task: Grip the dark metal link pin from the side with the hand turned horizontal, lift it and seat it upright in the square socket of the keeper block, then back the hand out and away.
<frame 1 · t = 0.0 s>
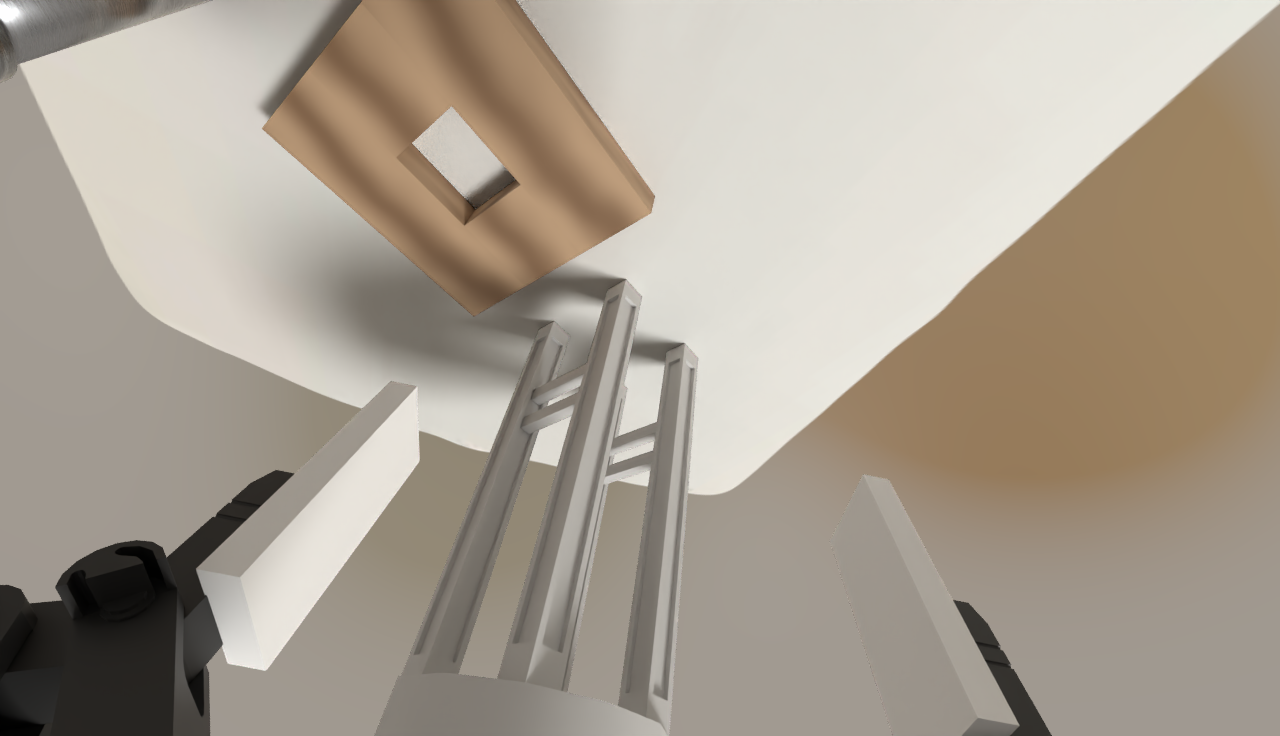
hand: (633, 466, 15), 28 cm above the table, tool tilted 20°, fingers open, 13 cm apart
keeper block: (470, 156, 39), on the table
stool: (618, 342, 51), on the table
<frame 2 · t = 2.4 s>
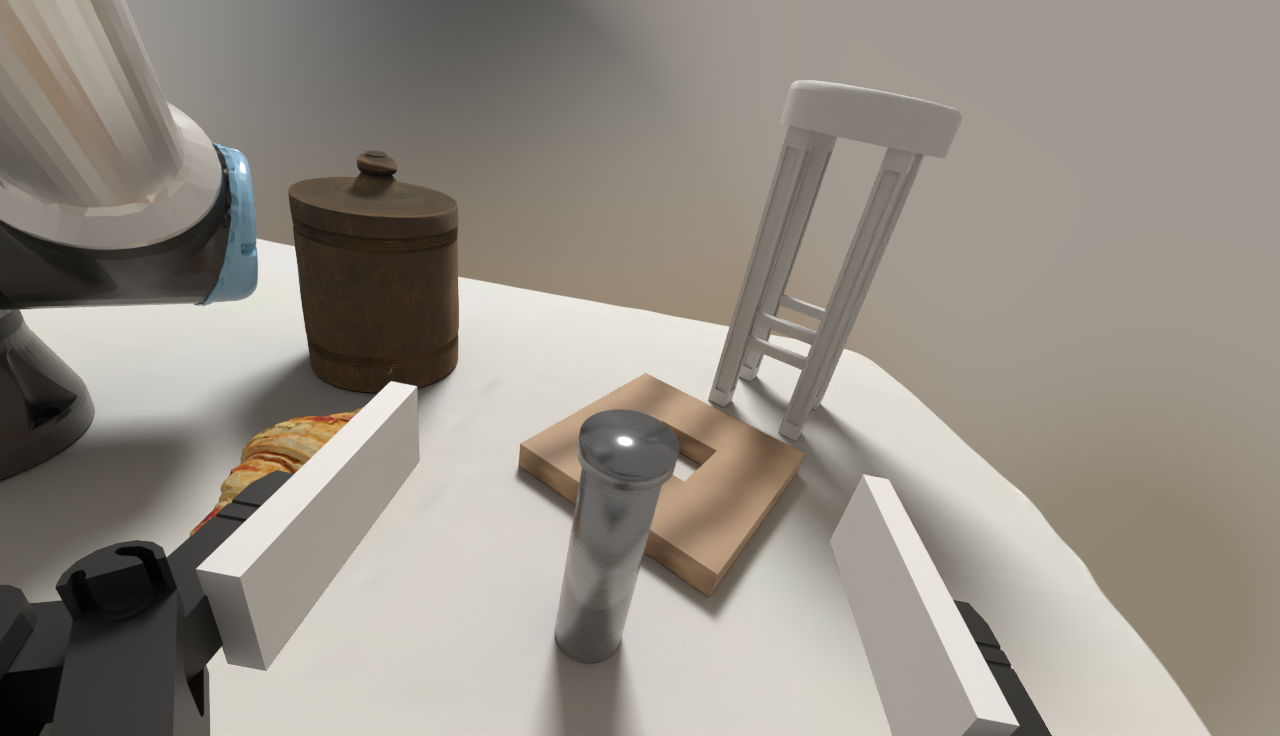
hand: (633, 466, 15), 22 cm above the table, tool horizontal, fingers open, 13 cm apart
keeper block: (667, 469, 50), on the table
croissant: (310, 503, 39), on the table
stool: (765, 403, 65), on the table
wooden container: (388, 360, 58), on the table
link pin: (588, 630, 34), on the table
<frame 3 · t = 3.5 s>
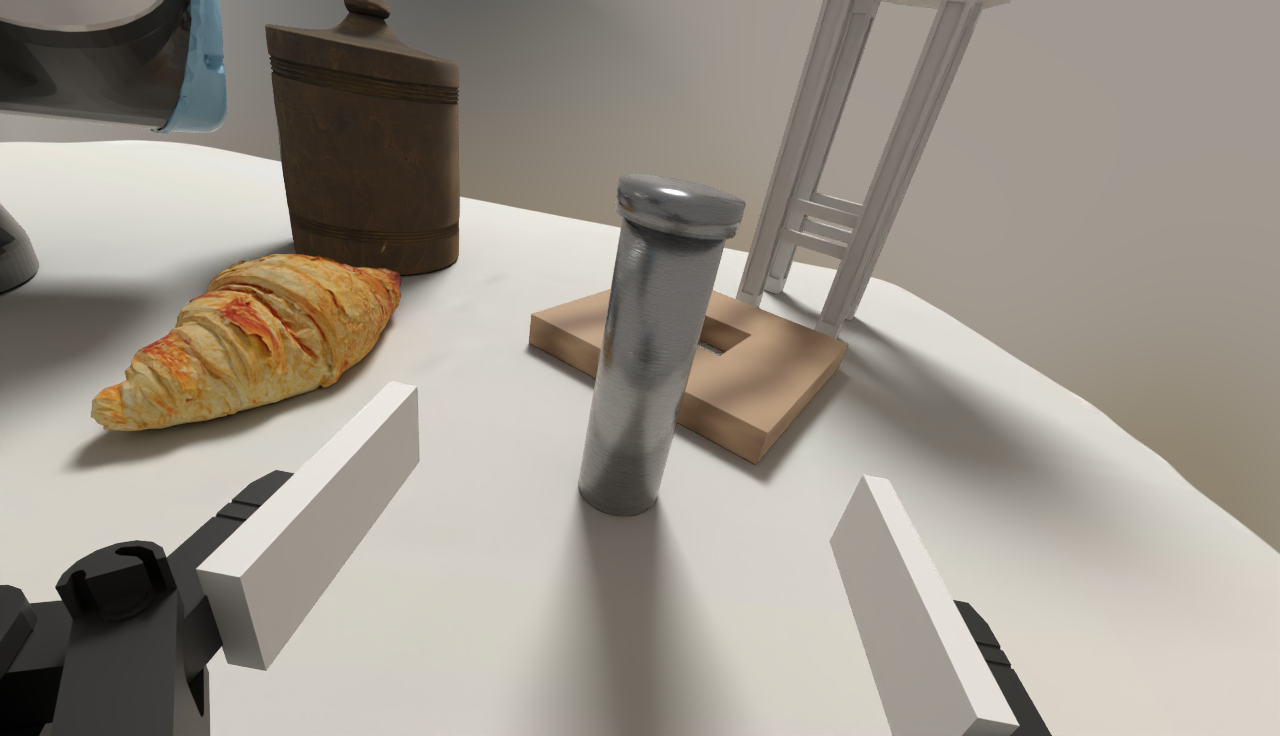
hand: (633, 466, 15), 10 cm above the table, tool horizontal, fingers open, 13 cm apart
keeper block: (695, 356, 44), on the table
croissant: (288, 360, 34), on the table
stool: (795, 312, 60), on the table
wooden container: (381, 252, 52), on the table
link pin: (618, 486, 28), on the table
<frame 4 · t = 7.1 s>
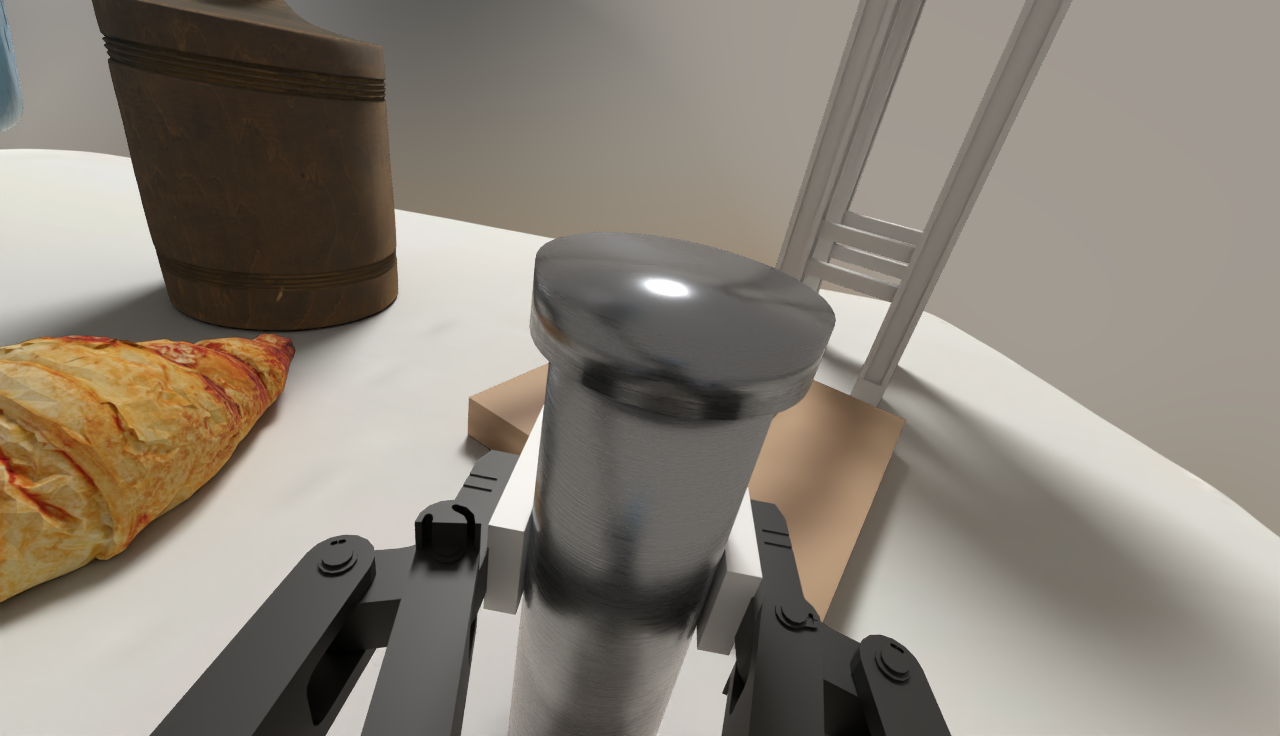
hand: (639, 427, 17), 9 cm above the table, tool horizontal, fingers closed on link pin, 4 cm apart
keeper block: (701, 442, 33), on the table
croissant: (78, 497, 22), on the table
stool: (824, 360, 48), on the table
wooden container: (294, 293, 41), on the table
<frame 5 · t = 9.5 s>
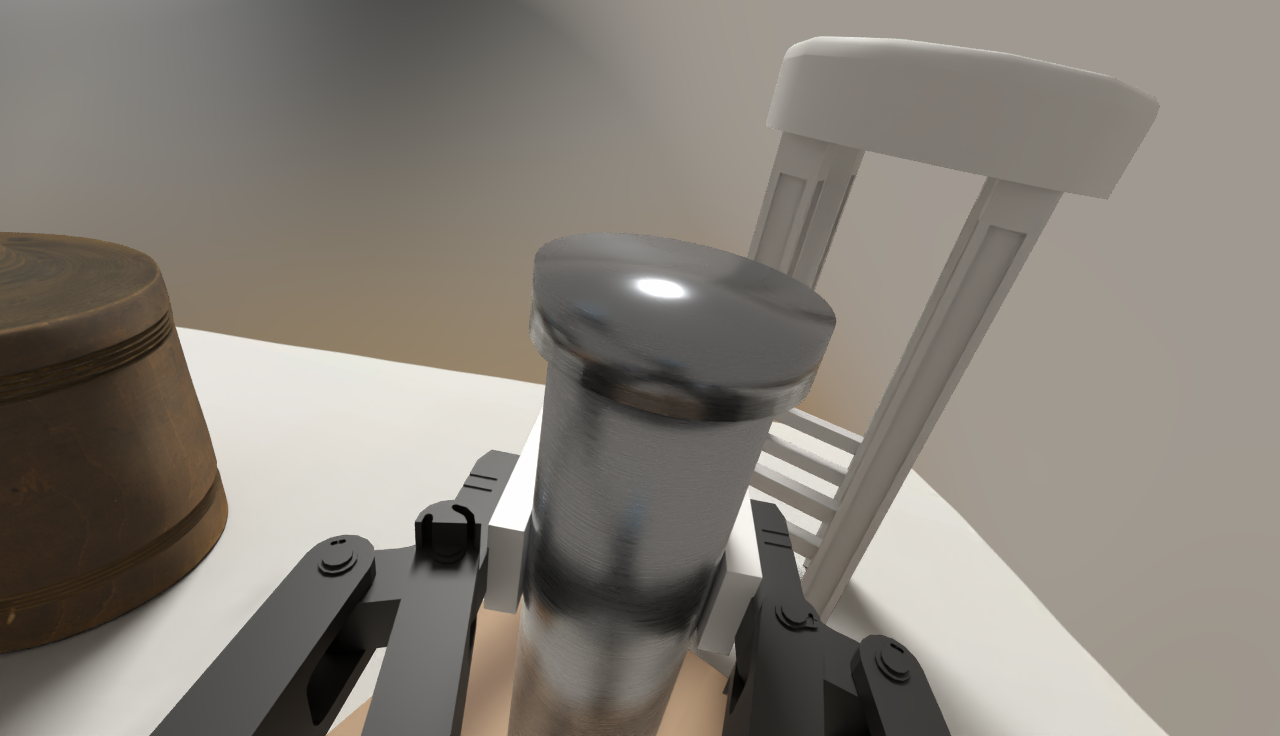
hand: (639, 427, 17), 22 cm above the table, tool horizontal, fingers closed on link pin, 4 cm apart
stool: (749, 571, 41), on the table
wooden container: (82, 548, 33), on the table
when the fingers open (10 cm above the table, at t = 13.0 s): link pin stays where it is, resting in keeper block.
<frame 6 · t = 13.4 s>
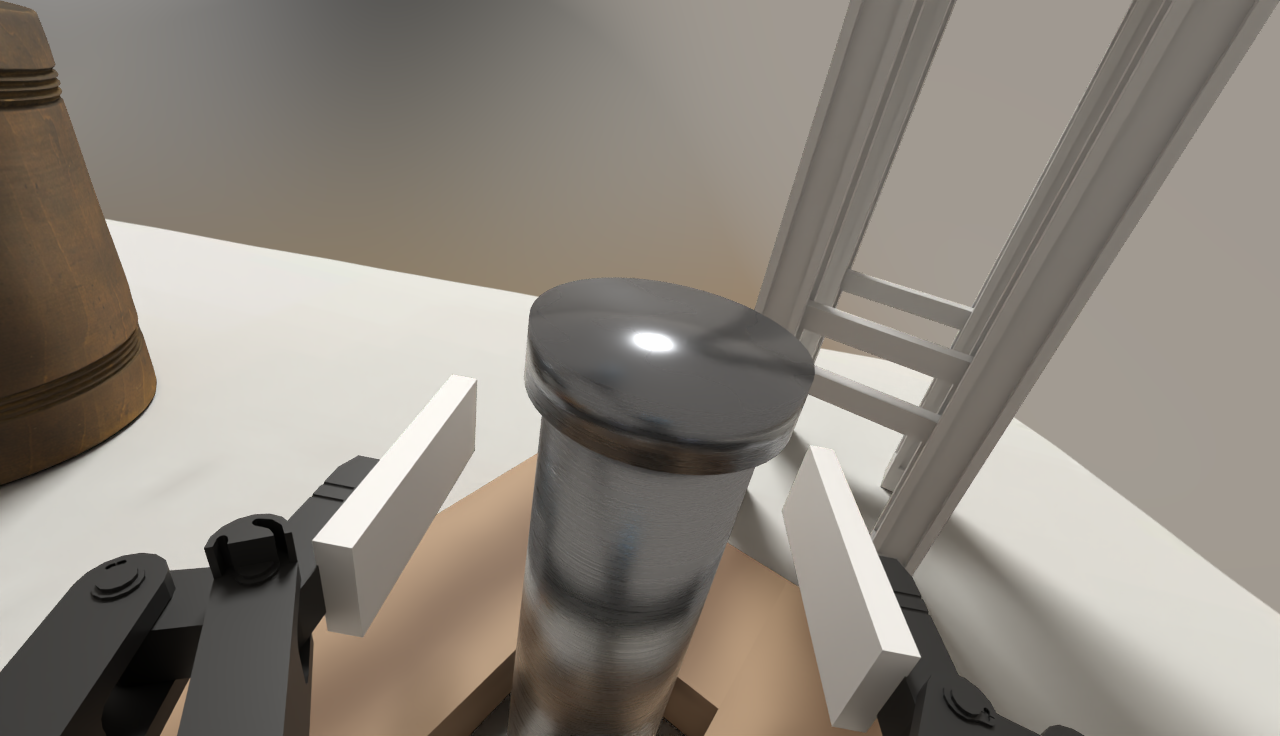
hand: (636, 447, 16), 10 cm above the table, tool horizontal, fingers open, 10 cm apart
stool: (815, 489, 32), on the table
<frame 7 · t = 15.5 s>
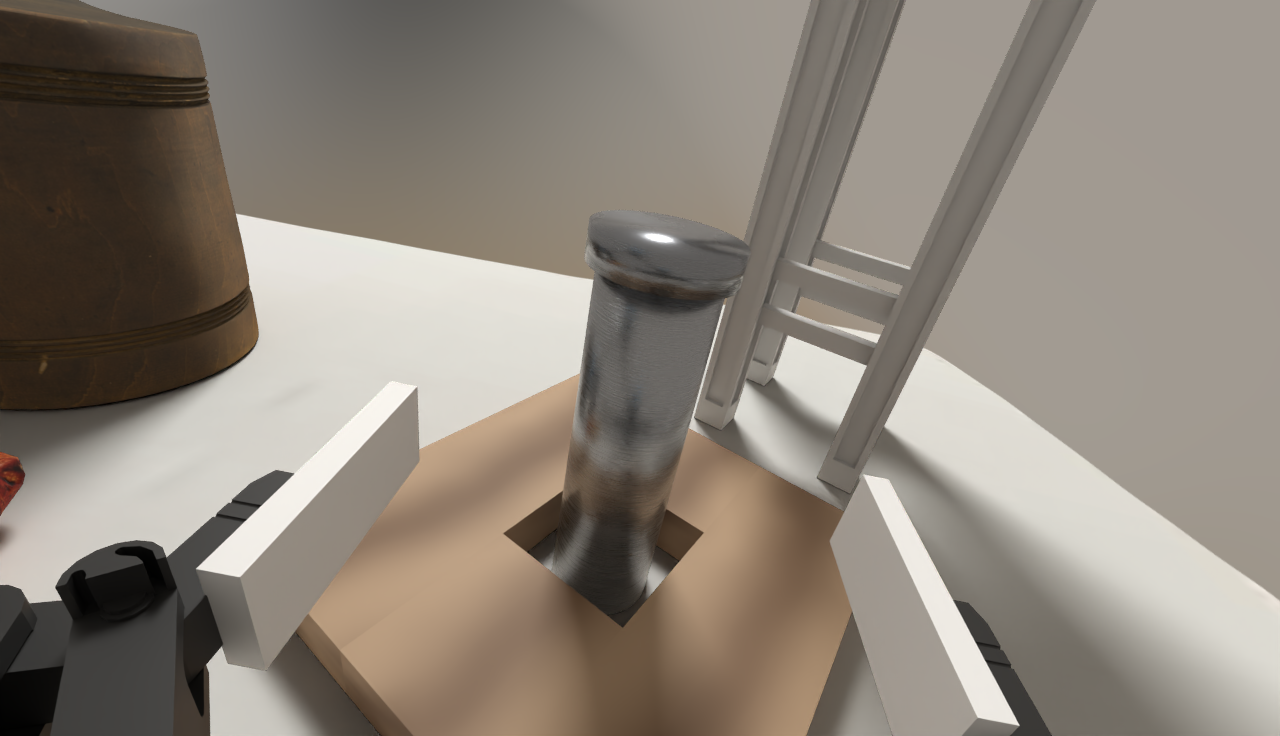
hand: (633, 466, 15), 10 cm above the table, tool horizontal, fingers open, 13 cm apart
keeper block: (600, 571, 24), on the table
stool: (790, 421, 39), on the table
wooden container: (114, 348, 32), on the table
link pin: (599, 572, 24), resting in keeper block
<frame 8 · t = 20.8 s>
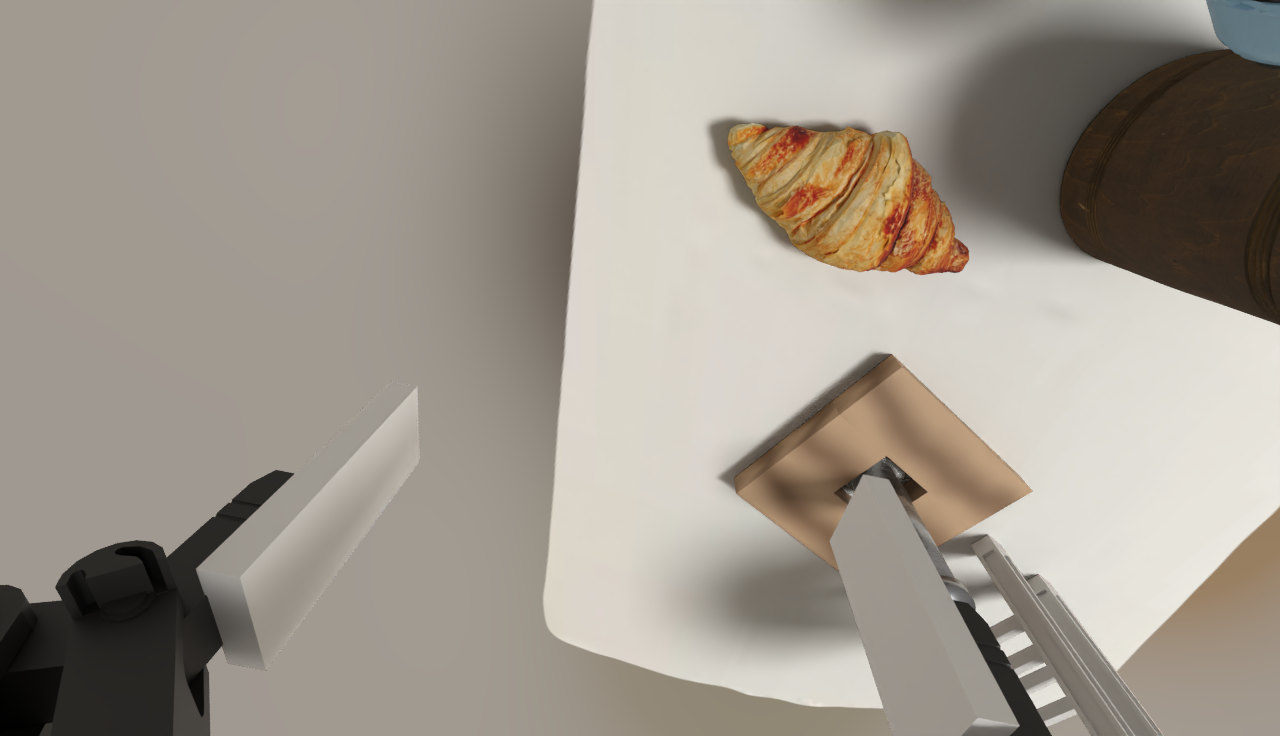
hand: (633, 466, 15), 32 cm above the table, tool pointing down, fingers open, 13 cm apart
keeper block: (872, 476, 53), on the table
croissant: (842, 192, 41), on the table
stool: (974, 583, 60), on the table
wooden container: (1166, 165, 38), on the table
link pin: (871, 475, 53), resting in keeper block
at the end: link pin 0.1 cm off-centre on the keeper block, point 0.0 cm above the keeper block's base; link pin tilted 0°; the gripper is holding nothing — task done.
